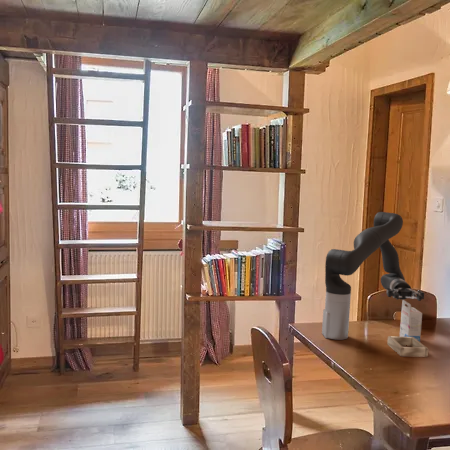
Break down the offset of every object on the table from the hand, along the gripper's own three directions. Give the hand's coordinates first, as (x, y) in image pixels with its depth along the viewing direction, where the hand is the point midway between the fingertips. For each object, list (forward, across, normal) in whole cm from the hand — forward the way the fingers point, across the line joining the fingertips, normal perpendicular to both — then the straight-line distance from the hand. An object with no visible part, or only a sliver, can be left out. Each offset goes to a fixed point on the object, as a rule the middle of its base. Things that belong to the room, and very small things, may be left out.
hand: (408, 297), depth 202 cm
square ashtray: (+24, -5, +14) cm, 28 cm away
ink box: (+11, -1, +14) cm, 18 cm away
